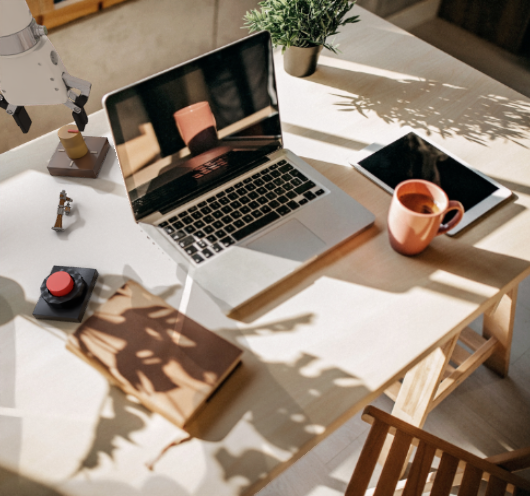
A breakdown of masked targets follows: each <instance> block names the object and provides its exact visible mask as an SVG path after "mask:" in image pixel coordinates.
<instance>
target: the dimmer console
mask: <svg viewBox="0 0 530 496" xmlns="http://www.w3.org/2000/svg"><path fill="white" fill-rule="evenodd" d="M82 136H83V138H84V141H85V143H86V145H87V148H88V151H87V153H86V154H85V155H84V156H83V157H81V158H77V159H73V158H70V157H68V156H67V154H66V152H65V149H64V147H63V145H62V143H61V141H60V140H59V142H58V144H57V146H56V148H55V150H54V152H53V153H52V156H51V158H50V159H49V161H48V163H47V165H46V169H47V170H48V174H49V175H50V176H53V177H54V176H55V177H67V178H68V177H71V178H83V179H85V178H86V179H98V175H99V173H100V172H101V168H102V167H103V164H104V162H105V159H106V157H107V155H108V153H109V150H110V148H111V144H110V141H109V138H108V137H107V136H91V135H82Z"/></svg>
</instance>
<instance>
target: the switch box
mask: <svg viewBox="0 0 530 496" xmlns="http://www.w3.org/2000/svg"><path fill="white" fill-rule="evenodd" d="M59 271H64V272H67V273H68V274H69V275H70V276H71V278H72V280H73V281H74V287H73V289H72V290H71V292H70V293H68V294H67V295H64V296H60V297H58V296H54V295H53V294H52V293H51V292H50V291H49V289H48V288H47V285H46V283H47V280H48V278H49V277H50V276H51V275H52V274H54V273H56V272H59ZM99 275H100V273H99V271H98V269H97V268H92V267H91V268H90V267H79V266H67V265H56V264H54V265H53V266H52V268H51V270H50V272H49V274H48V275H47V276H46V277H45V278H44V279H43V281H42V283H41V286H40V287H39V290H40V295H39V297H38V300H37V301H36V304H35V306H34V309H33V311H32V316H33V318H35V319H36V320H44V321H53V322H54V321H55V322H67V323H76V324H82V322H83V319H84V315H85V313H86V311H87V307H88V304H89V302H90V299H91V297H92V294H93V291H94V288H95V286H96V284H97V281H98V278H99Z"/></svg>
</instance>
